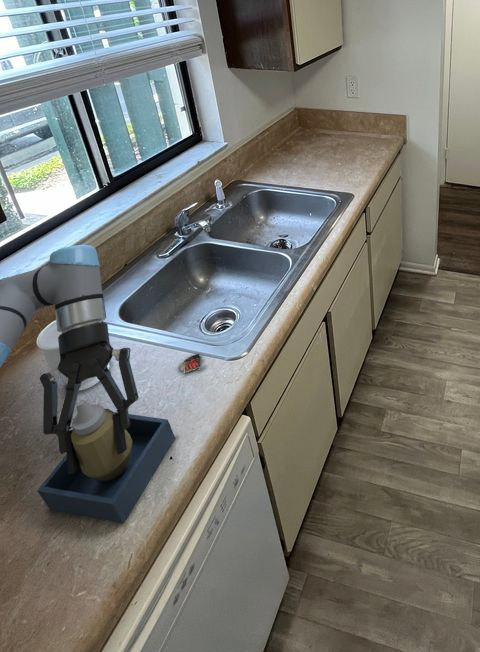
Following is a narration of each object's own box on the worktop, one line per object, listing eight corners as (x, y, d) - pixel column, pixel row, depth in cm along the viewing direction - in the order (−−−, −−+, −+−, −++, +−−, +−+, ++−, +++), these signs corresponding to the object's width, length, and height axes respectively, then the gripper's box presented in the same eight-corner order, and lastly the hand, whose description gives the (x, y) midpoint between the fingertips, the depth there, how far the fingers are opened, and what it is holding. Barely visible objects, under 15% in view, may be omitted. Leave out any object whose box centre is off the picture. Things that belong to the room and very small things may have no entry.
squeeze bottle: (125, 434, 87) (96, 373, 79) (145, 459, 83) (116, 396, 75) (80, 470, 81) (43, 408, 73) (99, 499, 77) (62, 436, 69)
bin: (49, 510, 77) (36, 490, 75) (111, 429, 90) (101, 409, 88) (123, 523, 75) (112, 504, 73) (175, 438, 88) (168, 419, 86)
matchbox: (198, 353, 107) (198, 351, 106) (205, 366, 103) (204, 365, 103) (178, 363, 104) (177, 362, 104) (184, 378, 100) (184, 377, 100)
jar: (83, 402, 96) (58, 354, 89) (50, 388, 99) (24, 341, 92) (125, 362, 105) (105, 316, 98) (93, 351, 108) (72, 306, 101)
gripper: (145, 310, 89) (164, 432, 83) (28, 346, 82) (40, 482, 75) (136, 308, 82) (156, 440, 76) (8, 347, 75) (19, 496, 69)
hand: (98, 461), depth 76 cm, fingers closed on squeeze bottle, 6 cm apart
